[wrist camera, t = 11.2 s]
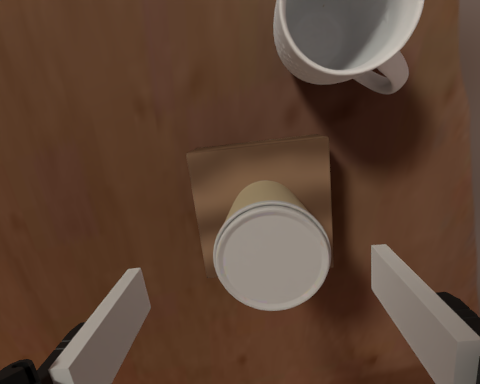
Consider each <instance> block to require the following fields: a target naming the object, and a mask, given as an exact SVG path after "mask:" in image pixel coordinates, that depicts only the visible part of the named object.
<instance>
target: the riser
mask: <svg viewBox="0 0 480 384" xmlns="http://www.w3.org/2000/svg"><path fill="white" fill-rule="evenodd" d="M186 157H187V163H188V169H189V175H190V181H191V187H192V193H193V198H194V204H195V210H196V216H197V222H198V228H199V234H200V240H201V246H202V252H203V257H204V263H205V269H206V275H207V278H214V277H218V276H217V273H216V270H215V267H214V261H213V250H214V244H215V240H216V237H217V235H218V233H219V230H220V229H221V227H222V226H223V224H224V222H225V220H226V218H227V216H228V214H229V211H230V209H231V207H232V205H233V203H234V201H235V199H236V198H237V196H238V195H239V193H240V192H241V191H242V190H243V189H244V188H245V187H247V186H248V185H250V184H252V183H254V182H258V181H264V180H267V181H274V182H278V183H280V184H282V185H284V186H285V187H287V188H288V189H289V190H290V191H291V192H292V193H293V194H294V195H295V196H296V198H297V199H298V200H299V201H300V202H301V203H302V204H303V206H304V207H305V208H306V209H307V210H308V212H309V213H310V214H311V215H313V216H314V217H315V218H316V219H317V220H318V221H319V223H320V224H321V225H322V227H323V228H324V230H325V232H326V234H327V236H328V239H329V242H330V247H331V263H330V268H333V267H334V262H333V236H332V209H331V182H330V156H329V137H326V136H322V135H318V134H314V135H305V136H297V137H288V138H280V139H271V140H263V141H254V142H246V143H237V144H229V145H220V146H212V147H203V148H196V149H194V150H192V151H191V152H189V153H187V154H186Z"/></svg>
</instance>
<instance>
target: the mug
mask: <svg viewBox="0 0 480 384" xmlns="http://www.w3.org/2000/svg"><path fill="white" fill-rule="evenodd" d="M423 5H424V0H277V2H276V8H275V14H274V23H273V24H274V26H273V28H274V40H275V45H276V49H277V51H278V55H279V57H280V59H281V61H282V62H283V64H284V65H285V67H286V68H287V69H288V71H290V72H291V73H292V74H293V75H294V76H296V77H297V78H299V79H301V80H302V81H305V82H308V83H311V84H318V85H319V84H320V85H325V84H328V85H329V84H336V83H340V82H344V81H348V80H350V79H354V80H355V81H357V82H359V83H360V84H362V85H364V86H365V87H367V88H369V89H371V90H373V91H375V92H378V93H381V94H392V93H395V92H396V91H398V90H399V89H400V88H401V87H402V86H403V85H404V84H405V82H406V81H407V79H408V75H409V70H408V66H407V63H406V61H405V59H404V57H403V55H402V54H401V52H400V50H401V48H402V47H403V46H404V45H405V44H406V42H407V41H408V40H409V38H410V37H411V35H412V33H413V31H414V30H415V28H416V26H417V24H418V21H419V19H420V16H421V13H422V9H423ZM375 68H377V69H378V70H379V71H380V72H382V73H383V74H384V75H385V76H386V77H387V78H386V77H384V76H381V75H379V74H377V73H375V72H373V71H371V70H373V69H375Z"/></svg>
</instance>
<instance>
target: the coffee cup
mask: <svg viewBox="0 0 480 384" xmlns="http://www.w3.org/2000/svg"><path fill="white" fill-rule="evenodd" d="M213 261H214V267H215V270H216V273H217V276H218V277H219V279H220V281H221V283H222V284H223V286H224V287H225V288H226V290H227V291H228V292H229V293H230V294H231V295H232V296H233V297H234V298H236V299H237V300H238V301H240V302H242V303H243V304H245V305H247V306H250V307H253V308H256V309H260V310H268V311H277V310H284V309H289V308H292V307H295V306H297V305H299V304H301V303H303V302H305V301H306V300H308V299H309V298H311V297H312V296H313V295H314V294H315V293H316V292H317V291H318V290H319V288H320V287H321V286H322V284H323V282H324V280H325V278H326V276H327V274H328V271H329V268H330V263H331V247H330V242H329V239H328V236H327V234H326V232H325V230H324V228H323V227H322V225H321V224H320V223H319V221H318V220H317V219H316V218H315V217H314V216H313V215H311V214H310V213H309V212H308V210H307V209H306V208H305V207H304V206H303V204H302V203H301V202H300V201H299V200H298V199H297V198H296V196H295V195H294V194H293V193H292V192H291V191H290V190H289V189H288V188H287V187H285V186H284V185H282V184H280V183H278V182H274V181H267V180H264V181H258V182H254V183H252V184H250V185H248V186H247V187H245V188H244V189H243V190H242V191H241V192H240V193H239V195H238V196H237V198H236V199H235V201H234V203H233V205H232V207H231V209H230V211H229V214H228V216H227V218H226V220H225V222H224V224H223V226H222V227H221V229H220V230H219V233H218V235H217V237H216V240H215V244H214V250H213Z"/></svg>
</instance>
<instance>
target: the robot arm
mask: <svg viewBox="0 0 480 384" xmlns="http://www.w3.org/2000/svg"><path fill="white" fill-rule="evenodd" d="M371 289H372V290H373V292H374V293H375V295H376V296H377V298H378V299H379V301H380V302H381V304H382V305H383V307H384V308H385V310H386V311H387V313H388V314H389V316H390V317H391V318H392V320H393V321H394V323H395V324H396V326H397V327H398V329H399V330H400V332H401V333H402V335H403V336H404V338H405V339H406V341H407V342H408V344H409V345H410V347H411V348H412V350H413V351H414V352H415V354H416V355H417V357H418V358H419V360H420V361H421V363H422V364H423V366H424V367H425V369H426V370H427V372H428V373H429V375H430V376H431V378H432V379H433V381H434V382H435V384H480V318H479V317H478V315H477V314H475V313H474V312H473V311H472V310H470V308H469V307H468V306H467V305H465V304H464V303H463V302H462V301H461V300H460V299H458V298H456V297H455V296H453V295H451V294H449V293H447V292H439V293H435V292H434V291H433V290H432V289H431V288H430V287H429V286H428V285H427V284H426V283H425V282H424V281H423V280H422V279H421V278H420V277H419V276H417V275H416V274H415V273H414V272H413V271H412V270H411V269H410V268H409V267H408V266H407V265H406V264H405V263H404V262H403V261H402V260H401V259H400V258H399V257H398V256H397V255H396V254H395V253H394V252H393V251H392V250H391V249H390V248H389V247H388V246H387V245H386V244H382V245H372V246H371ZM150 309H151V306H150V302H149V298H148V294H147V290H146V286H145V282H144V278H143V274H142V271H141V268H134V269H128V270H127V271H126V272H125V274H124V275H123V276H122V277H121V279H120V280H119V281H118V282H117V284H116V285H115V286H114V287H113V289H112V290H111V291H110V293H109V294H108V295H107V296H106V298H105V299H104V300H103V301H102V303H101V304H100V305H99V306H98V308H97V309H96V310H95V311H94V313H93V314H92V315H91V316H90V318H89V319H88V320H87V321H86V322H83V323H80V324H78V325H77V326H76V327H75V328H73V329H72V330H71V331H70V332H69V333H68V334H67V335H66V336H65V338H64V339H63V340H62V342H60V344H59V345H58V346H57V347H56V350H54V351H53V352H52V353H51V354H50V356H49V357H48V358H47V359H46V360H45V362H44V363H43V364H42V365H41V366H40V368H39V369H38V370H37V371H36V368H35V366H34V364H33V362H32V360H29V359H24V360H19V361H17V362H14V363H12V364H10V365H8V366H7V367H5V368H3V369H2V370H1V371H0V384H111V383H112V381H113V379H114V378H115V376H116V374H117V372H118V370H119V368H120V366H121V364H122V362H123V360H124V358H125V356H126V355H127V353H128V351H129V349H130V347H131V345H132V343H133V341H134V339H135V337H136V335H137V333H138V332H139V330H140V328H141V326H142V324H143V322H144V320H145V318H146V316H147V314H148V312H149V310H150Z"/></svg>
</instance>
